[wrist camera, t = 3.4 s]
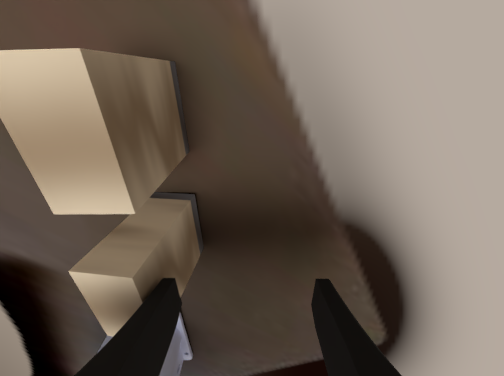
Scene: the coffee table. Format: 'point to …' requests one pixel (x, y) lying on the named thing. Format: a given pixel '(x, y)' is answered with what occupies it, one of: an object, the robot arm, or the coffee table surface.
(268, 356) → the coffee table surface
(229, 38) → the coffee table surface
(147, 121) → the beech tile
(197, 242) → the beech tile
